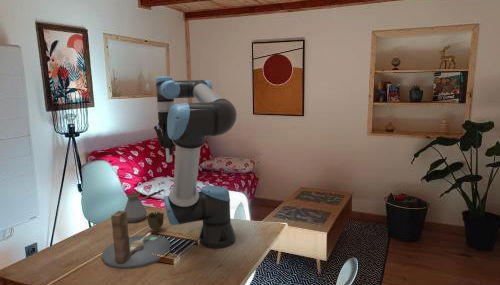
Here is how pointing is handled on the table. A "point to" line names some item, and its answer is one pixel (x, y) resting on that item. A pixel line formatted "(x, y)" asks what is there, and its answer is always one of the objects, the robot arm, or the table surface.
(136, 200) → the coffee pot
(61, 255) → the table surface
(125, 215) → the brown bar with rod
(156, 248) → the dial plate
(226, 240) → the robot arm
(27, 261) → the table surface
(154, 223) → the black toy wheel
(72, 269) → the table surface
